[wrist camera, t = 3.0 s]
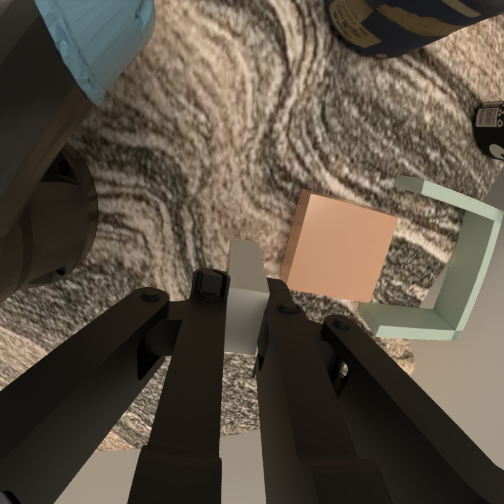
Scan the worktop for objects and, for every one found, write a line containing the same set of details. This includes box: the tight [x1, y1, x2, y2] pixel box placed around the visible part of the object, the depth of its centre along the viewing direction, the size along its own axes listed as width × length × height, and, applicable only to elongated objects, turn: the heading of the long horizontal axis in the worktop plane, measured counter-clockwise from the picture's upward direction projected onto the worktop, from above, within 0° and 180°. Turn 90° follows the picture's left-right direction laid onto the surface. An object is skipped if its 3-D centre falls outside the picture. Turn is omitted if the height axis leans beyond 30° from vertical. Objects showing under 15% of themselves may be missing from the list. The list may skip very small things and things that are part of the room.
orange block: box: [280, 188, 398, 303], centre depth 27 cm, size 8×8×4 cm
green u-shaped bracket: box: [358, 174, 504, 340], centre depth 27 cm, size 11×14×5 cm
